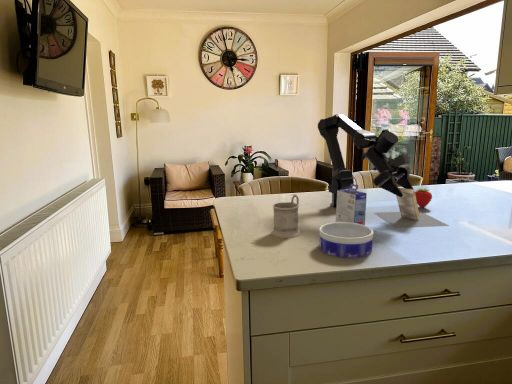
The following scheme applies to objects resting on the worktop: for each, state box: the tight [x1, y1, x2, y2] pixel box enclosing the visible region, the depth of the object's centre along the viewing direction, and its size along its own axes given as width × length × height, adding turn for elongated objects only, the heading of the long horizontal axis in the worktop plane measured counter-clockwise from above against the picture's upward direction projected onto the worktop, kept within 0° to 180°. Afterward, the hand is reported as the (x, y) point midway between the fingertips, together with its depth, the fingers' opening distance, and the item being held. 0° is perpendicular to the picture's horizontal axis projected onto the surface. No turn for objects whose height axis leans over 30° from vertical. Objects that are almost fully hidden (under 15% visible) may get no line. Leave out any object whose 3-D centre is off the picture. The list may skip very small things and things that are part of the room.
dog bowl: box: [318, 221, 374, 259], centre depth 105 cm, size 15×15×6 cm
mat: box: [373, 210, 450, 229], centre depth 133 cm, size 19×20×1 cm
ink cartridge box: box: [335, 183, 368, 226], centre depth 127 cm, size 10×6×14 cm, turn 27°
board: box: [395, 187, 420, 220], centre depth 130 cm, size 6×2×13 cm
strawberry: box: [415, 186, 433, 209], centre depth 147 cm, size 6×8×10 cm
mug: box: [270, 193, 302, 239], centre depth 121 cm, size 14×10×12 cm
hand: (407, 194), depth 126 cm, fingers open, 9 cm apart
